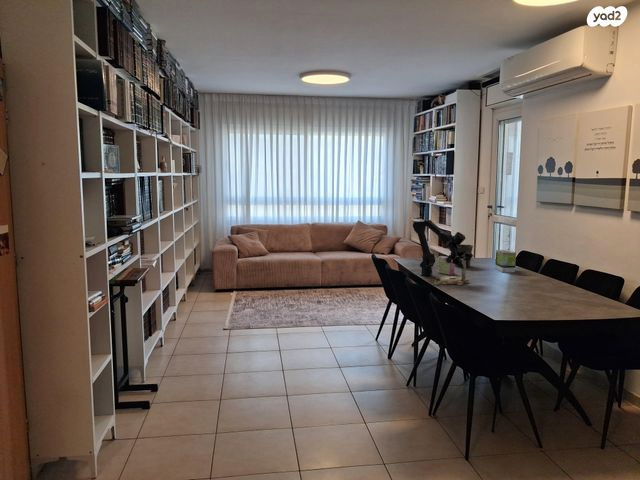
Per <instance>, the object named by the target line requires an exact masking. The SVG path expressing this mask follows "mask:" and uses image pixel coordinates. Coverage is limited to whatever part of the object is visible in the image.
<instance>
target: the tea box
mask: <svg viewBox="0 0 640 480" xmlns="http://www.w3.org/2000/svg"><path fill="white" fill-rule="evenodd" d="M516 260H517V252H515V251H513V250H510V249H496V250H495V265H494V269H496V270H497V271H498V272H501V273H515V272H516V263H517V262H516Z"/></svg>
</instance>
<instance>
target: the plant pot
mask: <svg viewBox="0 0 640 480" xmlns="http://www.w3.org/2000/svg"><path fill="white" fill-rule="evenodd" d="M457 246H458V247H459V248H460V247H464V246H468V247H469V250H468V251H466V252H464V253H465V254H464V255H463V256H465V255H466V253H472V251H473V248H474V245H472V244H463V243H461V244H460V245H457ZM472 254H473V253H472ZM471 260H472V258H471V259H470V260H469V261H468V265H469V267H471ZM460 261H461V263H462V260H461V259H460ZM454 267H458V268H460V267H459V266H457V265H454Z"/></svg>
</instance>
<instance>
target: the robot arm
mask: <svg viewBox="0 0 640 480" xmlns="http://www.w3.org/2000/svg"><path fill="white" fill-rule="evenodd" d="M426 227H427V228H428V229H429V230H431V231H432V232H433V233H434V234H435V235H437V237H438V239H439V240H440V241H441V243H444V244H445V246H444V248H445V249H449V252H450V254H448V256H446V257H447V259H446V261H447V263H451V260H453V262H452V263H453V264H455V265H457V266H459V267H458V268H460V269H461V270H462V269H463V268H464V267H463V265H462V263H461V261H460V259H461V260H466V269H469V268H470V266H469V265H468V261H469V260H470V259H471V260H472V258H473V257H474V255H473V253H466V255H465V256H463V255H464V254H465V253H464V252H466V251H468V250H469V247H468V246H464V247H460V248H459V247H458V246H457V245H460V244H463V243H464V241H465V240H466V236H465V234H463V233H461V232H460V231H457V232H456V233H455V234H454V235H453V234H452V233H449V232H447V231H445V230H443V229H441V228H440V227H439V226H438V225H437V224H436V223H434V222H433V221H432V220H431V219H426V220H418V221H417V220H416V221H414V222H413V223H412V228H413V230H414V232H415V234H417V237H418V240H419V243H420V247H421V251H422V258H421V259H422V261H421V262H420V263H419V267H420V268H421V274H420V277H421V276H422V277H431V276H433V269H432V268H433V267H434V265H435V263H436V257H435V254H434V253H432V252H431V249H430V246H429V243H428V240H427V237H426V233H425V232H426Z"/></svg>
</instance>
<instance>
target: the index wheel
mask: <svg viewBox="0 0 640 480" xmlns="http://www.w3.org/2000/svg"><path fill="white" fill-rule="evenodd" d="M462 265H463V267H464V268H463V269H462V268H461V276H460V275H459V276H452V275H450V276H449V275H443V276H441V277H436V278H435V281H441V285H458V286H462V285H463V284H469V283H470V279H469V278H466V274H467V272H466V271H467V270H466V269H467V267H466V260H462Z"/></svg>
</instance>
